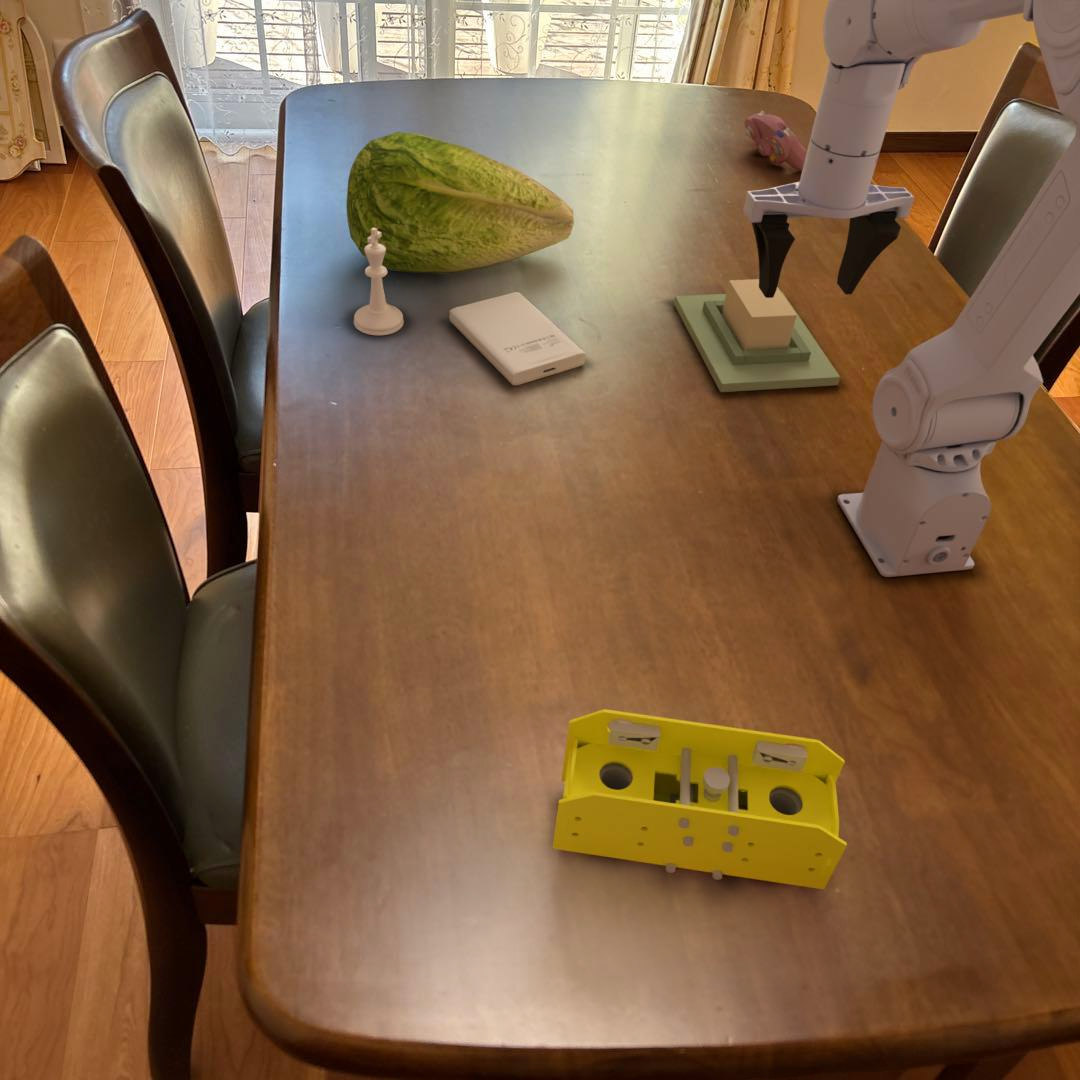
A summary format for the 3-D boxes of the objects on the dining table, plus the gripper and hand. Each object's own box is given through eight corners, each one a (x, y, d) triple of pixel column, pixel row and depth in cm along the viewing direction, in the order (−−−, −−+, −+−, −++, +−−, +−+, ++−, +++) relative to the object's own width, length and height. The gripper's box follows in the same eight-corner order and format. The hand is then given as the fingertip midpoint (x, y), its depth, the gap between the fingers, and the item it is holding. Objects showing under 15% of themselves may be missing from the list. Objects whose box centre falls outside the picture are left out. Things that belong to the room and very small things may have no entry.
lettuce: (576, 306, 108) (602, 173, 102) (343, 280, 103) (353, 138, 96) (551, 264, 121) (572, 143, 114) (342, 239, 115) (351, 110, 108)
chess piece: (343, 326, 101) (336, 232, 94) (372, 304, 104) (367, 211, 97) (385, 341, 100) (381, 246, 93) (413, 318, 103) (411, 225, 96)
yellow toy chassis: (814, 816, 64) (850, 737, 58) (820, 901, 60) (860, 825, 54) (561, 779, 65) (572, 697, 59) (550, 860, 61) (561, 781, 55)
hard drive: (518, 304, 106) (584, 365, 99) (449, 323, 103) (512, 387, 95) (519, 290, 105) (586, 350, 98) (449, 308, 102) (512, 372, 94)
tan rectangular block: (787, 352, 101) (797, 315, 98) (743, 354, 100) (751, 317, 97) (763, 314, 106) (772, 278, 103) (721, 316, 105) (728, 280, 102)
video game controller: (745, 156, 141) (735, 113, 136) (773, 138, 141) (764, 94, 135) (786, 186, 135) (777, 142, 129) (815, 167, 135) (808, 122, 129)
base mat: (837, 385, 99) (843, 368, 98) (720, 392, 97) (724, 375, 95) (780, 299, 110) (784, 282, 109) (673, 304, 108) (676, 287, 107)
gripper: (905, 122, 88) (861, 265, 97) (745, 124, 85) (716, 271, 95) (943, 156, 83) (893, 304, 92) (775, 159, 80) (740, 311, 90)
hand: (805, 290), depth 93 cm, fingers open, 7 cm apart
